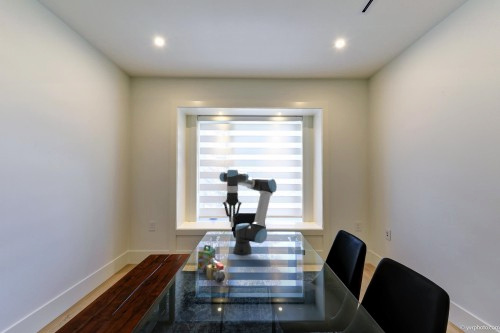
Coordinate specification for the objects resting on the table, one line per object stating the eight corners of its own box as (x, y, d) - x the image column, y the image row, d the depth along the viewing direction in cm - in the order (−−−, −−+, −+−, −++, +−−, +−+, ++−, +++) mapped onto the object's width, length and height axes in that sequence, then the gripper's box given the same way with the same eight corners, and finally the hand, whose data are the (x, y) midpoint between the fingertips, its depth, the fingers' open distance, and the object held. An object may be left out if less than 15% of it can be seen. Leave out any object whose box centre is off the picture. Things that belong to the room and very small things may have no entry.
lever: (209, 262, 141) (209, 258, 141) (214, 261, 143) (214, 257, 143) (219, 270, 130) (219, 266, 130) (224, 269, 132) (224, 265, 132)
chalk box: (197, 268, 152) (197, 247, 153) (203, 263, 161) (204, 243, 161) (209, 270, 150) (209, 248, 150) (215, 265, 159) (215, 244, 159)
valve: (201, 273, 146) (201, 260, 146) (210, 270, 150) (210, 257, 150) (215, 284, 132) (216, 269, 132) (225, 281, 136) (225, 266, 136)
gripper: (221, 192, 149) (221, 227, 148) (241, 192, 147) (240, 228, 147) (224, 191, 156) (223, 225, 156) (242, 191, 155) (242, 225, 154)
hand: (232, 226), depth 151 cm, fingers closed
